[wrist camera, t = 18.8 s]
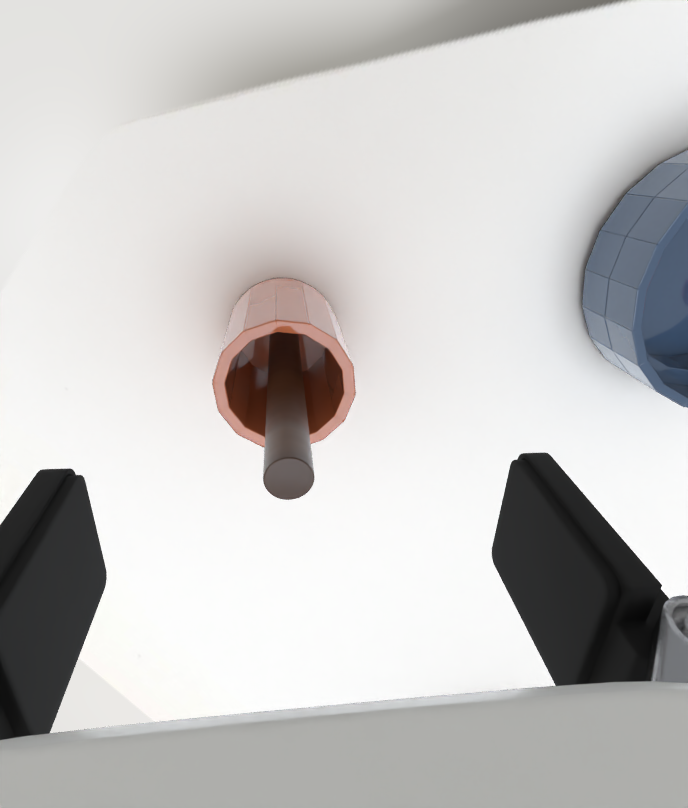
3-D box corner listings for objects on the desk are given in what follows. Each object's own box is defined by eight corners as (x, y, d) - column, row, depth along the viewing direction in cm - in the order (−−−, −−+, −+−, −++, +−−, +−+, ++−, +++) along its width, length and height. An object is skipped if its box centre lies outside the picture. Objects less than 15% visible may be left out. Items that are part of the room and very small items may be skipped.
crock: (205, 332, 32) (182, 391, 24) (283, 253, 31) (284, 288, 23) (284, 399, 35) (286, 473, 27) (358, 329, 34) (384, 386, 25)
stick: (263, 335, 32) (252, 481, 18) (282, 315, 32) (287, 448, 18) (284, 354, 33) (290, 508, 19) (304, 334, 33) (324, 477, 18)
